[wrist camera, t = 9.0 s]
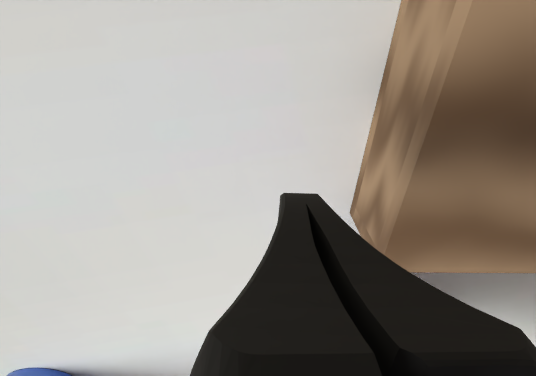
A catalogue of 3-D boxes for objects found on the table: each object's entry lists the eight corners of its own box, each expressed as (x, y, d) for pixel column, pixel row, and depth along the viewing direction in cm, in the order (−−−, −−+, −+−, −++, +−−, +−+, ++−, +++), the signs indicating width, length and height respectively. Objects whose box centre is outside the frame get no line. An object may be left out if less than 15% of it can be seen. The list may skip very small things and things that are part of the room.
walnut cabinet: (473, 215, 23) (535, 273, 18) (349, 212, 23) (378, 272, 18) (621, -76, 14) (824, -122, 9) (424, -94, 14) (526, -156, 9)
